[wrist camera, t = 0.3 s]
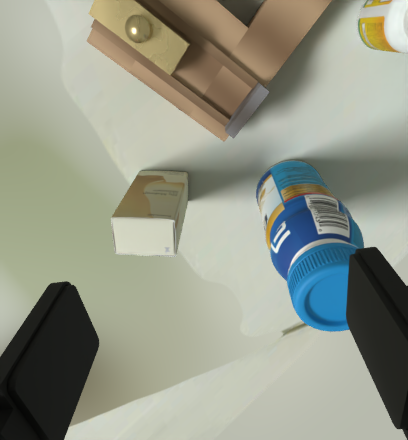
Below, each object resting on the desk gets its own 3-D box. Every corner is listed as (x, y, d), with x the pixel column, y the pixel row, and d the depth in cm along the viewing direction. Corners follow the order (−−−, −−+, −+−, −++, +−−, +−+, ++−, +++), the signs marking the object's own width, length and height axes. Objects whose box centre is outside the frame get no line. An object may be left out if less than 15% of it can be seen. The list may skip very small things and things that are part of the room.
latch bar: (113, -19, 28) (101, -25, 25) (191, 43, 30) (188, 44, 27) (98, 15, 29) (84, 13, 26) (173, 72, 31) (168, 76, 28)
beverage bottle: (335, 192, 41) (422, 306, 24) (280, 230, 44) (322, 356, 27) (296, 143, 39) (363, 232, 21) (240, 187, 42) (259, 297, 24)
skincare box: (188, 170, 41) (178, 219, 30) (188, 202, 43) (179, 258, 32) (136, 169, 41) (108, 217, 30) (139, 201, 43) (114, 255, 32)
